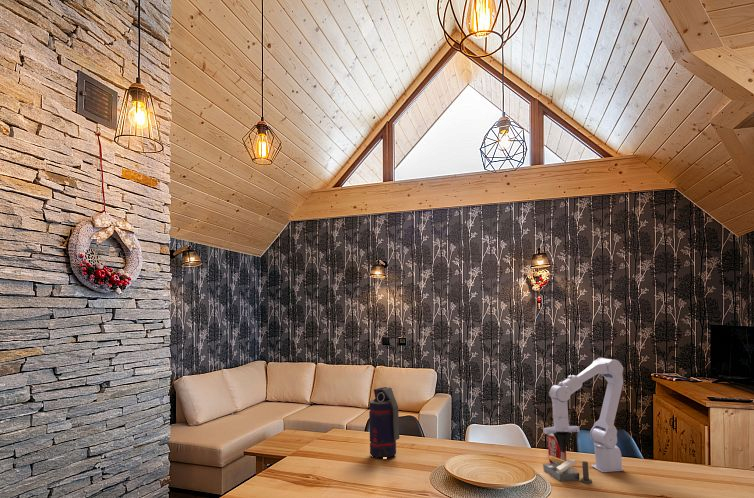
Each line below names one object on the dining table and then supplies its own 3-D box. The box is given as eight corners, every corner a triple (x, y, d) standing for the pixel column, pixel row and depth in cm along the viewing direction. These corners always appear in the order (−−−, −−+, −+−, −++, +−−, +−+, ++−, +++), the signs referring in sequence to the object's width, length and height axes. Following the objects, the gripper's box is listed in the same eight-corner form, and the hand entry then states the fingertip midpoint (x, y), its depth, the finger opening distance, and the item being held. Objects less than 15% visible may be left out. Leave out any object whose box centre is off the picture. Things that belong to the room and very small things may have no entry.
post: (588, 479, 187) (586, 460, 187) (594, 483, 183) (592, 463, 184) (578, 480, 186) (577, 460, 187) (584, 483, 182) (583, 464, 183)
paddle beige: (572, 461, 190) (570, 458, 190) (577, 464, 187) (575, 460, 187) (557, 470, 189) (555, 467, 189) (562, 473, 186) (560, 470, 186)
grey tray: (561, 468, 199) (561, 458, 199) (579, 479, 186) (578, 469, 187) (543, 470, 198) (542, 459, 198) (560, 481, 185) (559, 470, 185)
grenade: (364, 457, 219) (363, 388, 222) (379, 450, 229) (378, 385, 232) (390, 462, 211) (389, 391, 214) (404, 455, 221) (403, 387, 224)
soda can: (568, 467, 201) (566, 436, 202) (550, 466, 202) (548, 436, 204) (565, 461, 208) (563, 432, 209) (547, 461, 209) (546, 432, 211)
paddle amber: (562, 463, 196) (563, 460, 197) (567, 466, 193) (568, 462, 193) (547, 458, 196) (548, 454, 196) (551, 461, 192) (552, 457, 193)
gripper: (548, 419, 192) (550, 455, 190) (582, 417, 194) (585, 453, 192) (540, 415, 199) (542, 450, 197) (573, 413, 201) (575, 447, 199)
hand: (562, 451), depth 195 cm, fingers closed
